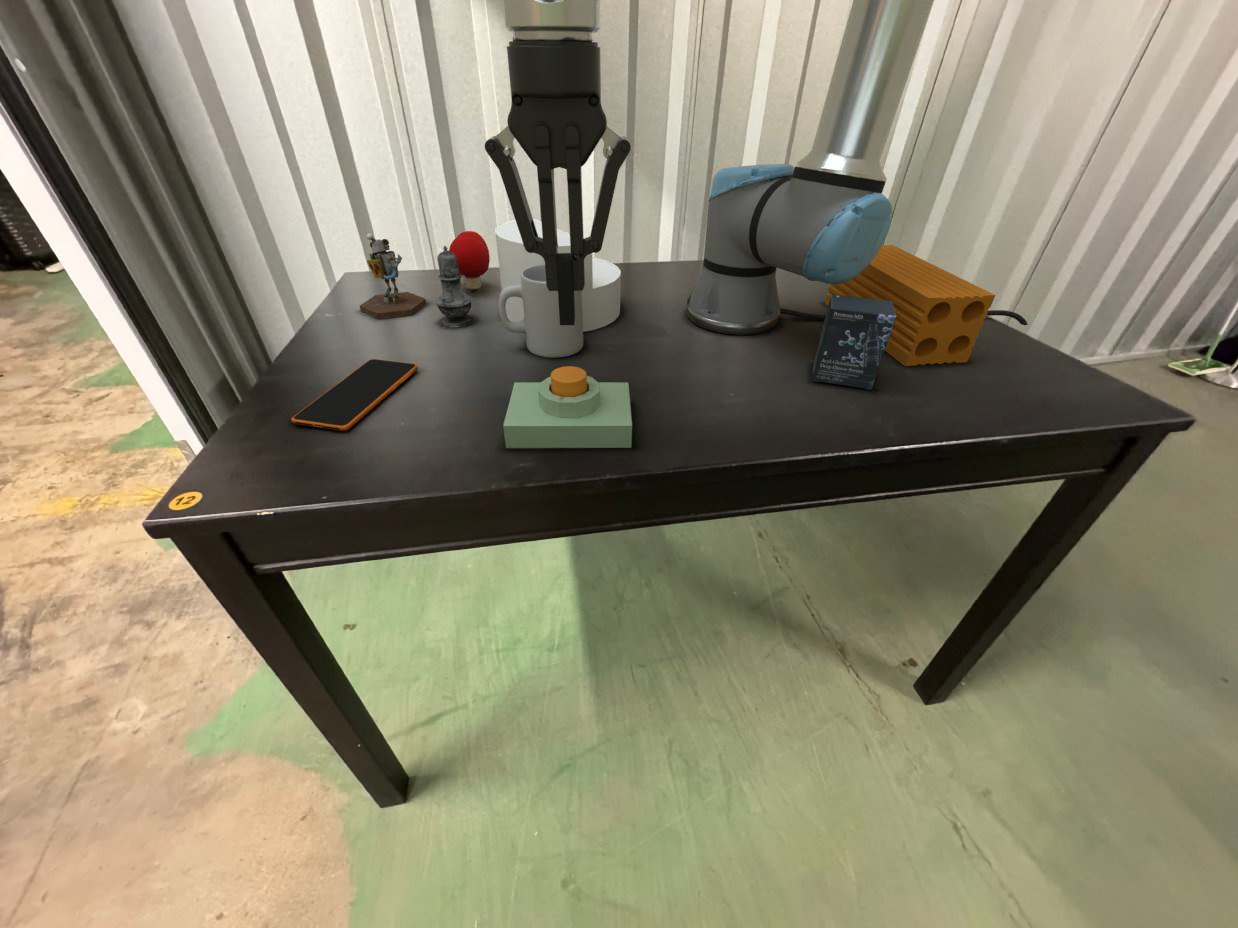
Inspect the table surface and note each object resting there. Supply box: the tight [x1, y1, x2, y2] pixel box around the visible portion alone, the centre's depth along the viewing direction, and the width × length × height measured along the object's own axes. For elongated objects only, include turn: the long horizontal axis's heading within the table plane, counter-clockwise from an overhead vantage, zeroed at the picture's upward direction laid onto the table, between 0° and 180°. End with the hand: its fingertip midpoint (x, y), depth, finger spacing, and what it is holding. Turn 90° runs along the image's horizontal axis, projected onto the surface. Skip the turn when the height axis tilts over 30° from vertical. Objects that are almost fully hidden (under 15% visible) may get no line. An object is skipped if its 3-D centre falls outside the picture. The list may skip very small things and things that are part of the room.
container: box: [494, 217, 622, 333], centre depth 91 cm, size 20×20×13 cm
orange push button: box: [550, 365, 588, 397], centre depth 62 cm, size 4×4×2 cm
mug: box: [498, 265, 584, 359], centre depth 80 cm, size 12×8×11 cm
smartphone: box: [290, 358, 419, 431], centre depth 70 cm, size 8×17×1 cm, turn 167°
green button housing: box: [502, 375, 633, 449], centre depth 64 cm, size 14×10×5 cm
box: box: [812, 294, 896, 391], centre depth 73 cm, size 8×6×11 cm
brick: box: [824, 244, 996, 367], centre depth 87 cm, size 26×10×10 cm, turn 9°
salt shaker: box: [434, 245, 475, 329], centre depth 87 cm, size 6×6×12 cm
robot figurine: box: [359, 233, 427, 320], centre depth 91 cm, size 11×9×12 cm
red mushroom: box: [448, 230, 491, 292], centre depth 100 cm, size 9×7×10 cm
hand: (567, 320), depth 58 cm, fingers closed
